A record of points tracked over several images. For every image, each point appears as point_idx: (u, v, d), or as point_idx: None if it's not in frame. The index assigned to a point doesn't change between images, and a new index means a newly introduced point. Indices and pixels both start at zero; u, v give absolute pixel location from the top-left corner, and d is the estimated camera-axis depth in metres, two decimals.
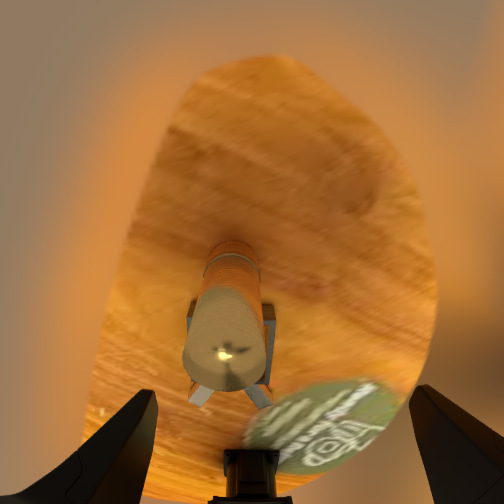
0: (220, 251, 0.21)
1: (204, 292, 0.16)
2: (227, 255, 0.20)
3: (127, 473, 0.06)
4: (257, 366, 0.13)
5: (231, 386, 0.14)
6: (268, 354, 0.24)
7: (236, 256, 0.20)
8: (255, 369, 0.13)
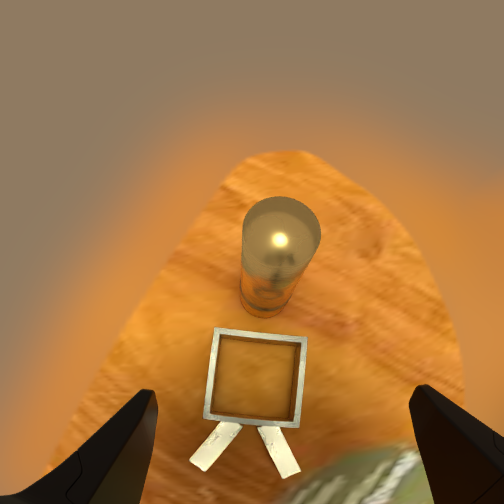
0: None
1: None
2: None
3: (127, 473, 0.06)
4: (313, 236, 0.14)
5: (287, 259, 0.14)
6: (299, 381, 0.20)
7: None
8: (311, 240, 0.14)
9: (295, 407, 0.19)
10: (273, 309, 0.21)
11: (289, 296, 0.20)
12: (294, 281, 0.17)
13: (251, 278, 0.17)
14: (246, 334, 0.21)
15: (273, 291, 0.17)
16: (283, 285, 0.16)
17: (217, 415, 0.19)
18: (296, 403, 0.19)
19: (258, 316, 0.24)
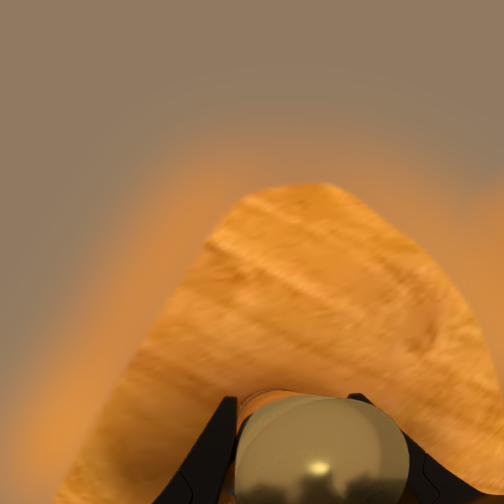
0: None
1: (258, 406, 0.09)
2: (275, 390, 0.13)
3: (226, 485, 0.06)
4: (392, 482, 0.05)
5: None
6: None
7: (288, 391, 0.13)
8: (388, 491, 0.05)
9: None
10: None
11: None
12: None
13: None
14: None
15: None
16: None
17: None
18: None
19: None
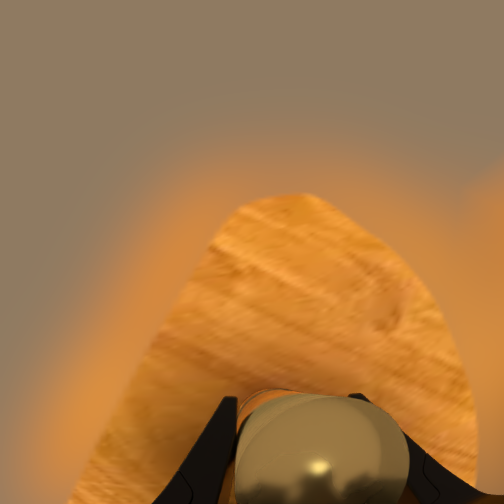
0: None
1: (258, 405, 0.09)
2: (275, 389, 0.13)
3: (227, 485, 0.06)
4: (392, 481, 0.05)
5: None
6: None
7: (288, 390, 0.13)
8: (388, 490, 0.05)
9: None
10: None
11: None
12: None
13: None
14: None
15: None
16: None
17: None
18: None
19: None
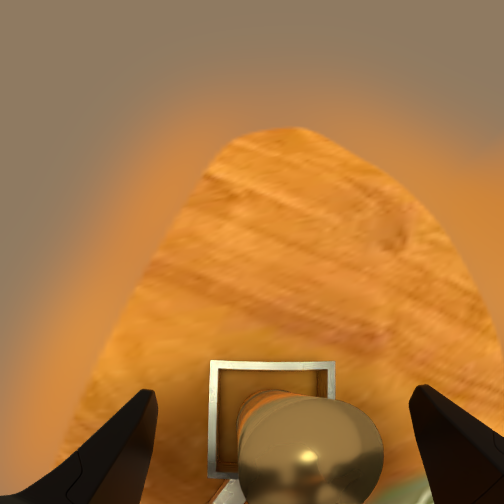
0: None
1: (257, 404, 0.10)
2: (272, 390, 0.14)
3: (127, 473, 0.06)
4: (369, 470, 0.06)
5: None
6: None
7: (284, 391, 0.14)
8: (365, 477, 0.06)
9: None
10: None
11: None
12: None
13: None
14: (254, 366, 0.15)
15: None
16: None
17: (226, 472, 0.13)
18: None
19: None
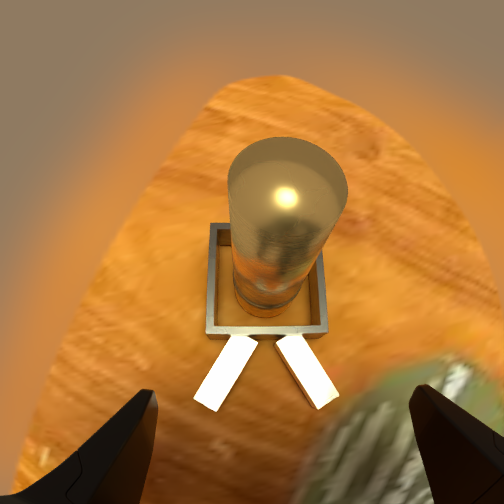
0: None
1: None
2: None
3: (127, 473, 0.06)
4: (336, 189, 0.09)
5: (300, 224, 0.09)
6: (319, 274, 0.17)
7: None
8: (334, 195, 0.09)
9: (319, 306, 0.17)
10: (278, 306, 0.16)
11: (299, 287, 0.15)
12: (308, 263, 0.11)
13: (245, 261, 0.12)
14: None
15: (278, 278, 0.12)
16: (292, 269, 0.11)
17: (224, 327, 0.16)
18: (320, 301, 0.17)
19: (258, 316, 0.18)
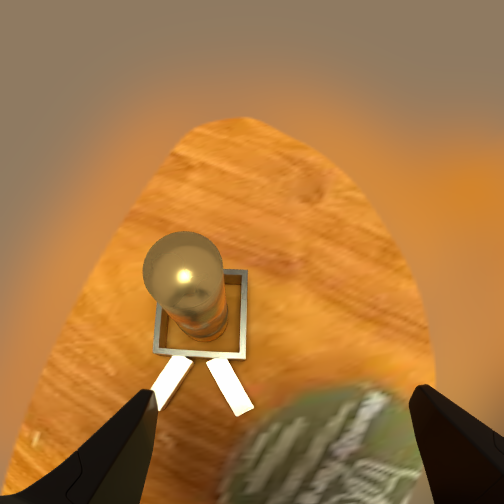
0: None
1: None
2: None
3: (127, 473, 0.06)
4: (213, 274, 0.14)
5: (183, 300, 0.13)
6: (242, 312, 0.22)
7: None
8: (211, 279, 0.14)
9: (240, 338, 0.21)
10: (206, 336, 0.21)
11: (219, 324, 0.20)
12: (207, 316, 0.16)
13: None
14: None
15: (189, 324, 0.16)
16: (195, 320, 0.16)
17: (166, 349, 0.21)
18: (240, 333, 0.21)
19: (197, 340, 0.23)
